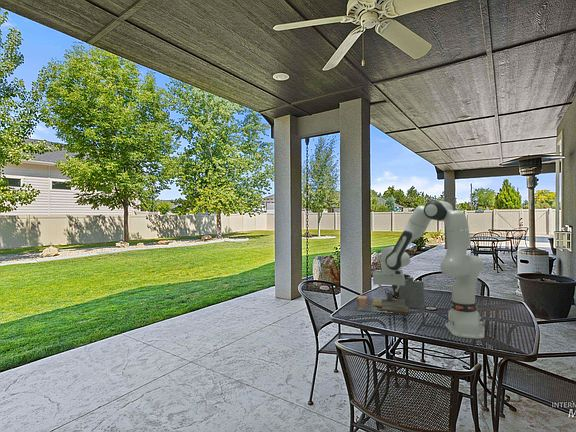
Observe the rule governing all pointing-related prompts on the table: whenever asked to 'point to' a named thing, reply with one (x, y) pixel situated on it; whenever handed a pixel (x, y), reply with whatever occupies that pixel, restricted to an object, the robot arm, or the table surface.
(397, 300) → the sleeve stand
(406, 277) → the plant pot
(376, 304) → the slip tube
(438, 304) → the table surface
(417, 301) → the hip flask
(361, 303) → the socket block
